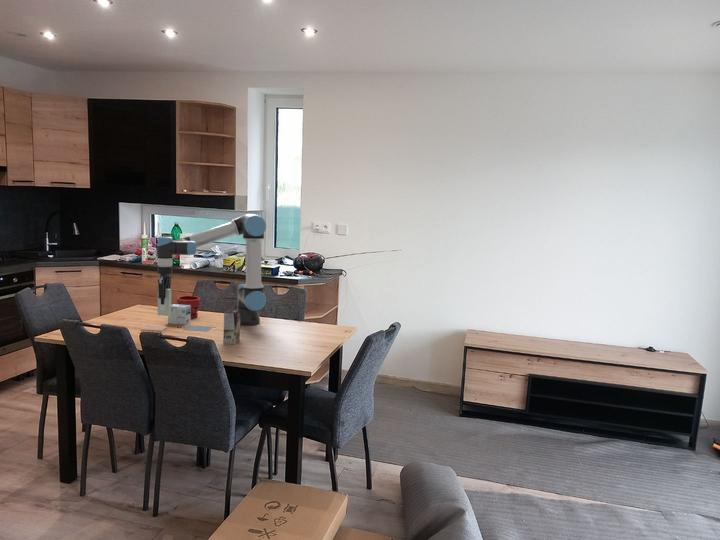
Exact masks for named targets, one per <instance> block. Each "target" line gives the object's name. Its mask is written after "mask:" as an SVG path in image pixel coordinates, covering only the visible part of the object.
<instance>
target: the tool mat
mask: <svg viewBox="0 0 720 540" xmlns="http://www.w3.org/2000/svg"><path fill="white" fill-rule="evenodd" d="M213 328H214V326H207V325H192V324H191V325H190V324H189V325H187V326H186V327H184V328H183V329H182V331H187V332H192V331H193V332H205V333H207V332H209V331H210V330H212V329H213Z"/></svg>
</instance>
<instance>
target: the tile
mask: <svg viewBox="0 0 720 540" xmlns="http://www.w3.org/2000/svg"><path fill="white" fill-rule="evenodd" d="M167 329H168V326H167V325H166V326H165V325H164V326H163V325H145V326H144V327H142V328H140V332H141V331H156V332H155V333H159V332H162V333H164V331H166V330H167Z"/></svg>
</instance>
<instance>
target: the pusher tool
mask: <svg viewBox="0 0 720 540" xmlns="http://www.w3.org/2000/svg"><path fill="white" fill-rule="evenodd" d="M158 297H159V289H158V288H157V316H163V317H166V316H167V317H168V316H169V315H171V305H172V288H171V289H166V294H165V298H166V310H165V311H164V310H160V298H158Z"/></svg>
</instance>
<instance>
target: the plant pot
mask: <svg viewBox="0 0 720 540" xmlns="http://www.w3.org/2000/svg"><path fill="white" fill-rule="evenodd" d="M200 300H201V299H200V297H199V296H196V295H195V296H194V295H181V296H178V297H177V299H176V302H177V303H176V304H178V305H191V312H190V319H194V318H196V317H198V316H199V313H198V311H199V308H200V303H201V301H200Z"/></svg>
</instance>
